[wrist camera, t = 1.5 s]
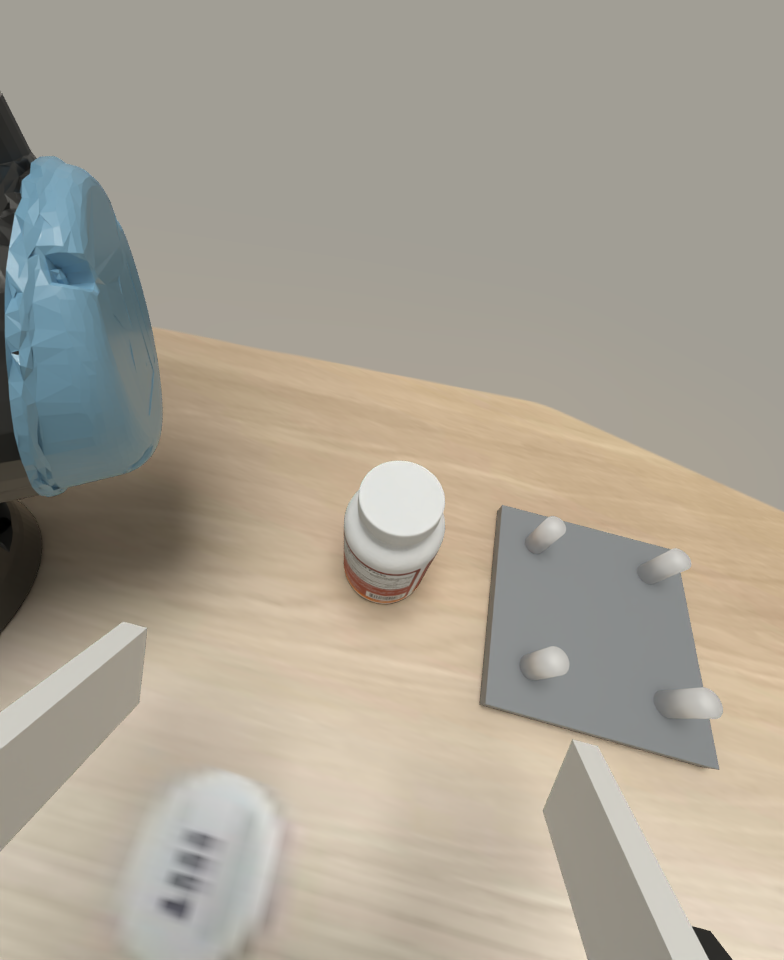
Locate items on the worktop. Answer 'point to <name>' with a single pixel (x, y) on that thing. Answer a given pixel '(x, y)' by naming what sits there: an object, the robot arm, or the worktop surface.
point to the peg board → (595, 638)
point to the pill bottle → (393, 531)
